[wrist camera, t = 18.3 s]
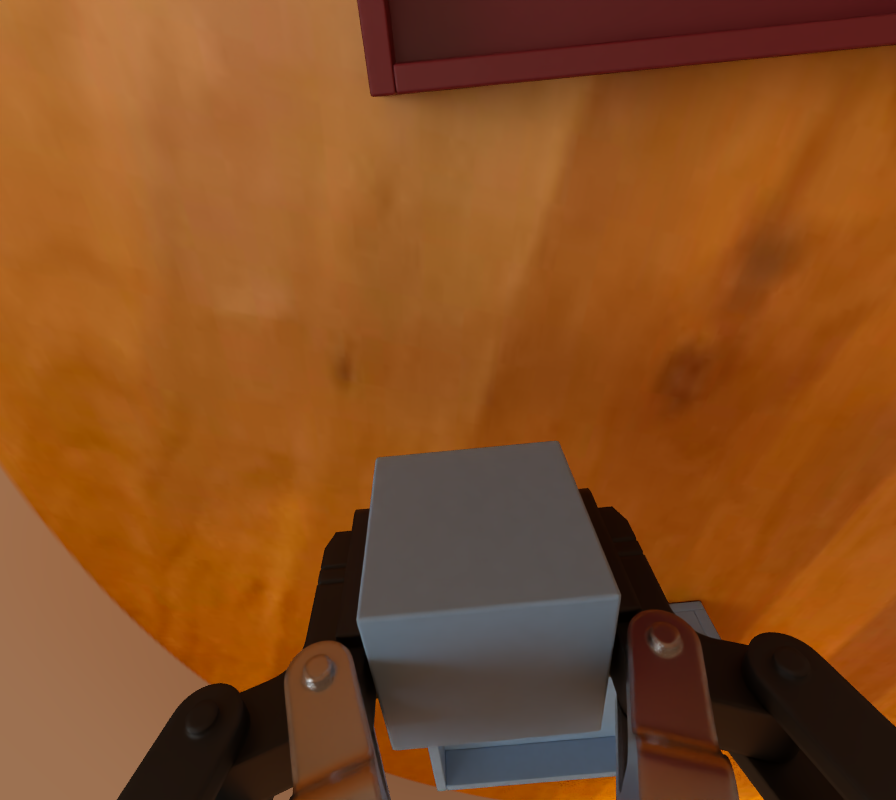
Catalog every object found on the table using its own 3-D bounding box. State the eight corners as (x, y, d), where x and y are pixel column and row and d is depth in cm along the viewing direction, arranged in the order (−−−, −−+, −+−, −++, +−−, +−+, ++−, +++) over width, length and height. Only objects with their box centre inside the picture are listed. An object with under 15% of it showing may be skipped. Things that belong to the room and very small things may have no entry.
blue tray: (436, 746, 33) (437, 791, 31) (412, 626, 26) (411, 673, 24) (664, 727, 33) (681, 770, 31) (700, 600, 26) (724, 645, 24)
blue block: (399, 578, 14) (392, 752, 11) (375, 456, 12) (354, 622, 8) (553, 564, 14) (602, 733, 11) (559, 438, 12) (624, 596, 8)
